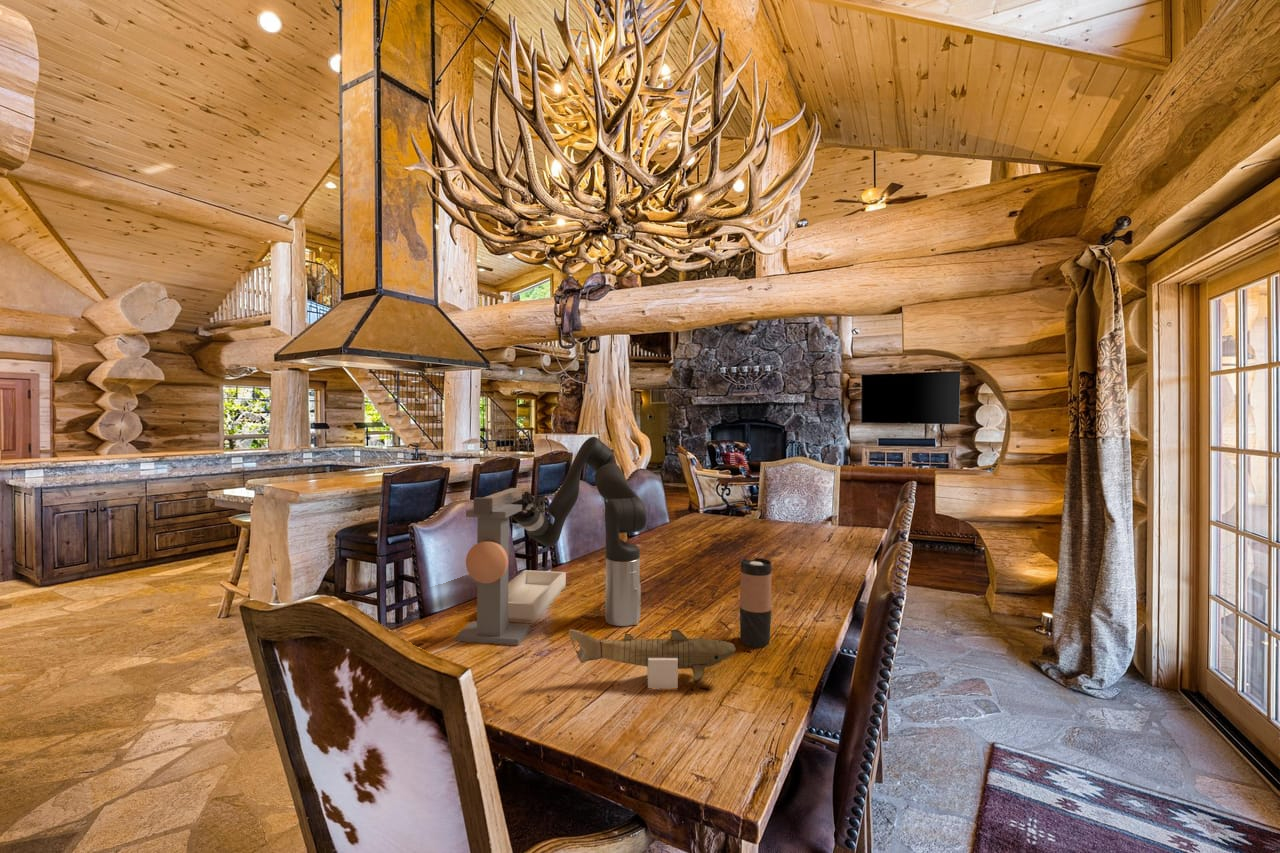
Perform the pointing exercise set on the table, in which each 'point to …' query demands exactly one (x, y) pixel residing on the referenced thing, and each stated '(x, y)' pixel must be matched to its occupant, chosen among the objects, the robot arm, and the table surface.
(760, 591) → the travel mug
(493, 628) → the stand
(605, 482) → the robot arm
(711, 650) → the wood carving
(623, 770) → the table surface
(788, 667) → the table surface
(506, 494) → the grey brown long block
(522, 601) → the off-white tray
